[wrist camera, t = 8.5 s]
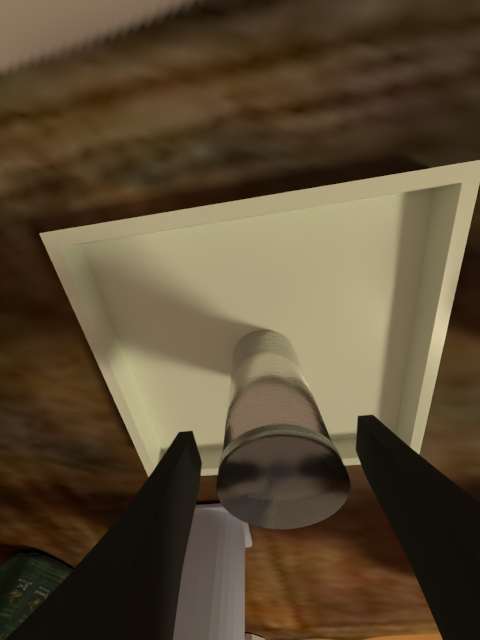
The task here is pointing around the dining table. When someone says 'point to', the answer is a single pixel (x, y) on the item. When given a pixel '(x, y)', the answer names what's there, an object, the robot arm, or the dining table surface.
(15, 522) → the dining table surface
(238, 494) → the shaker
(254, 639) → the cup
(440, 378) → the dining table surface
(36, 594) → the green squeeze bottle
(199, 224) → the tray
